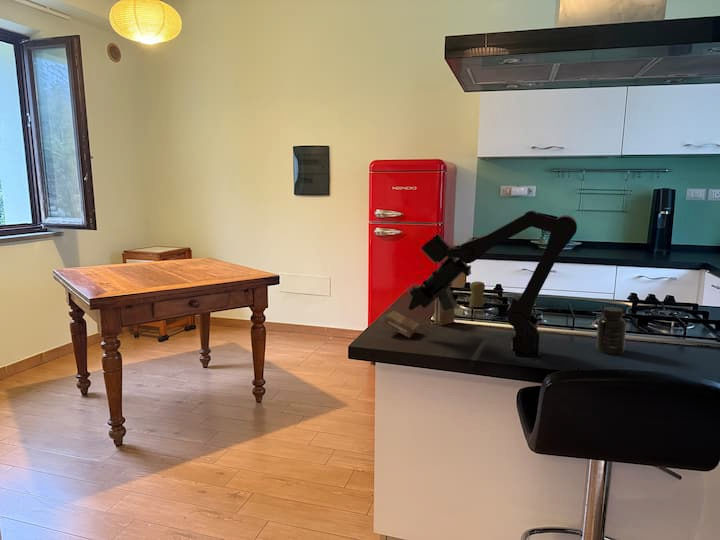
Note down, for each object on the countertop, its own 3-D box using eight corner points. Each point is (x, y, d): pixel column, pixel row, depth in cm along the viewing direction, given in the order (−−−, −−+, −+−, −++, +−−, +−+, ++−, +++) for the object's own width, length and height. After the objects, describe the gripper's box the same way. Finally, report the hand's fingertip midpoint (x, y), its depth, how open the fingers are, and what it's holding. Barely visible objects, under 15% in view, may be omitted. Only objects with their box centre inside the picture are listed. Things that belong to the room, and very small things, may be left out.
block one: (419, 323, 146) (393, 310, 148) (412, 329, 140) (386, 315, 143) (415, 332, 147) (390, 318, 149) (409, 338, 141) (382, 324, 144)
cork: (466, 312, 172) (467, 282, 170) (470, 308, 177) (471, 279, 175) (483, 314, 169) (484, 284, 167) (487, 310, 174) (487, 281, 172)
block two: (454, 321, 156) (454, 295, 154) (440, 325, 152) (440, 298, 151) (447, 319, 158) (447, 293, 157) (433, 323, 155) (434, 296, 153)
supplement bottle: (595, 345, 135) (598, 304, 133) (622, 348, 133) (625, 306, 131) (596, 353, 129) (600, 311, 127) (625, 356, 127) (629, 313, 124)
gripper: (458, 302, 127) (419, 338, 133) (472, 288, 143) (436, 320, 150) (429, 272, 129) (392, 309, 135) (446, 261, 145) (412, 294, 152)
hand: (409, 309), depth 143 cm, fingers closed
